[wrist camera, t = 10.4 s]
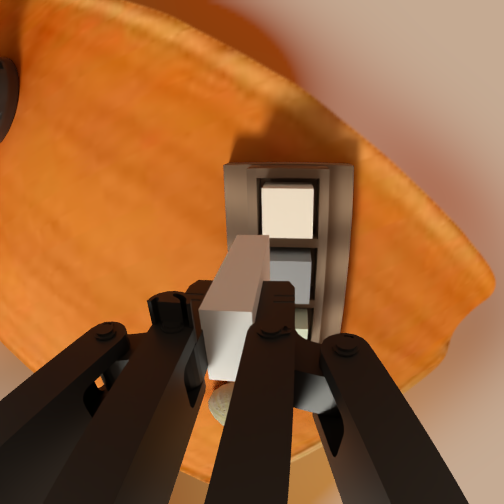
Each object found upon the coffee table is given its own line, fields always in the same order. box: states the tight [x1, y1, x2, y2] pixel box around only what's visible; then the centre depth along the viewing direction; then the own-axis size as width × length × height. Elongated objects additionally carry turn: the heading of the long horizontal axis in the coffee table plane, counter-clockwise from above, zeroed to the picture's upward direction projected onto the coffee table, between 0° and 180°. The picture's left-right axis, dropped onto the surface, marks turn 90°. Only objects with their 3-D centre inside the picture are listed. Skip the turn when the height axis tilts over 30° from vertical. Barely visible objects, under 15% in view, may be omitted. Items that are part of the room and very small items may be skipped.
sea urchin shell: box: [208, 381, 235, 426], centre depth 40 cm, size 9×8×8 cm
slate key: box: [270, 247, 311, 304], centre depth 28 cm, size 4×4×4 cm
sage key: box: [295, 308, 308, 339], centre depth 29 cm, size 4×4×4 cm
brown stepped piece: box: [223, 162, 354, 344], centre depth 32 cm, size 25×12×6 cm, turn 2°
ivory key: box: [262, 182, 314, 239], centre depth 26 cm, size 4×4×4 cm
